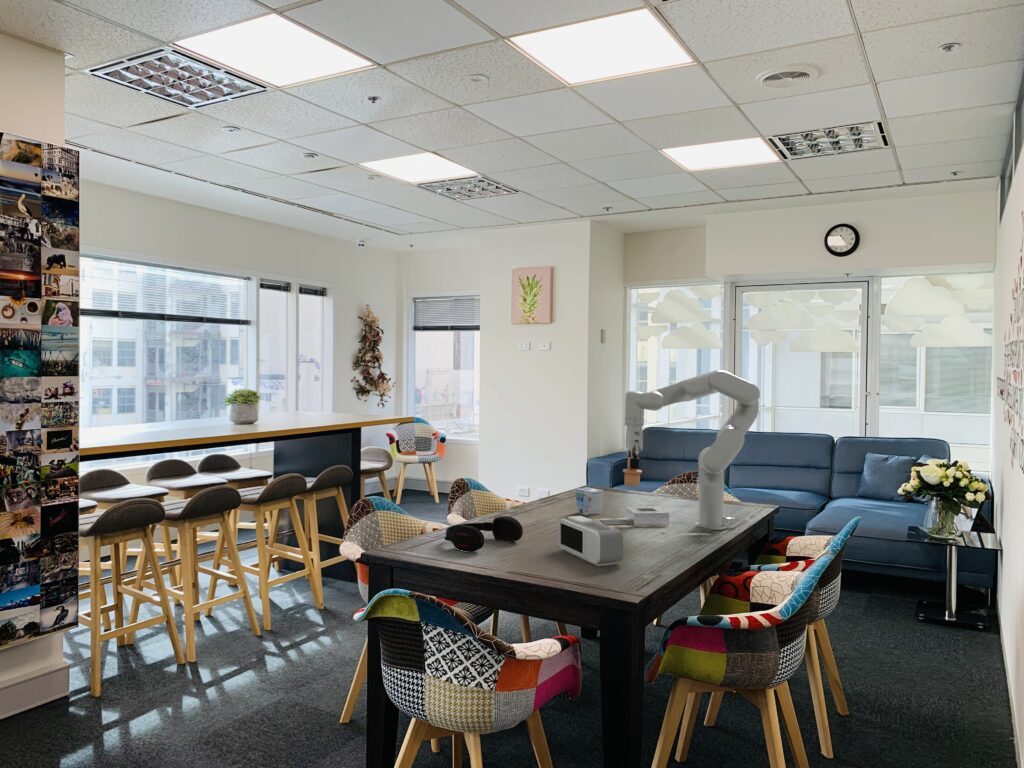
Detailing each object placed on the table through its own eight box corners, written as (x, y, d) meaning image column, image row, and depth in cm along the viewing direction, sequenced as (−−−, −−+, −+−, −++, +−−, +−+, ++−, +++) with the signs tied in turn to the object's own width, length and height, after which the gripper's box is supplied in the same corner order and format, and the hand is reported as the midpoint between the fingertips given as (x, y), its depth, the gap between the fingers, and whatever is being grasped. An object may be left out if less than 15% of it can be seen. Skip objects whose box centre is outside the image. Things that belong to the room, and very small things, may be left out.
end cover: (638, 484, 314) (639, 456, 314) (643, 486, 306) (644, 459, 306) (620, 483, 313) (621, 456, 313) (624, 486, 306) (625, 458, 306)
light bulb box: (575, 513, 336) (575, 488, 336) (587, 511, 340) (587, 486, 340) (592, 516, 327) (592, 491, 327) (603, 515, 331) (604, 490, 331)
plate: (659, 520, 320) (659, 505, 320) (673, 529, 302) (673, 513, 302) (592, 521, 317) (592, 506, 317) (602, 530, 300) (602, 514, 299)
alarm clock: (557, 550, 266) (558, 515, 266) (581, 548, 270) (582, 513, 270) (597, 569, 241) (597, 530, 241) (623, 566, 245) (623, 528, 245)
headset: (508, 557, 256) (509, 531, 255) (433, 552, 262) (433, 526, 262) (527, 540, 283) (527, 516, 283) (458, 535, 289) (458, 512, 289)
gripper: (649, 424, 301) (647, 471, 302) (638, 421, 318) (636, 465, 318) (630, 423, 301) (628, 470, 301) (620, 420, 317) (618, 465, 318)
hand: (632, 467), depth 310 cm, fingers closed on end cover, 4 cm apart
